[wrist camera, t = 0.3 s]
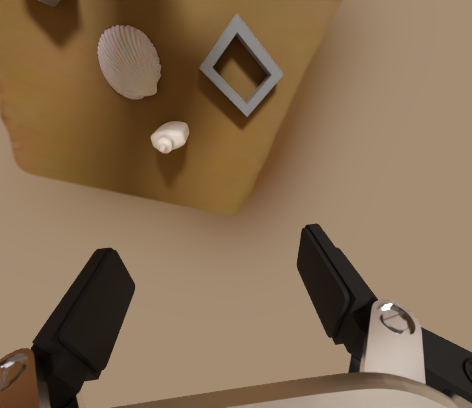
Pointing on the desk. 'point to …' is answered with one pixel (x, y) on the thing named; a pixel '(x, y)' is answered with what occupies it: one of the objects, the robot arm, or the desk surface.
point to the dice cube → (50, 2)
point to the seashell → (129, 61)
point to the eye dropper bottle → (170, 136)
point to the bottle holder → (259, 55)
